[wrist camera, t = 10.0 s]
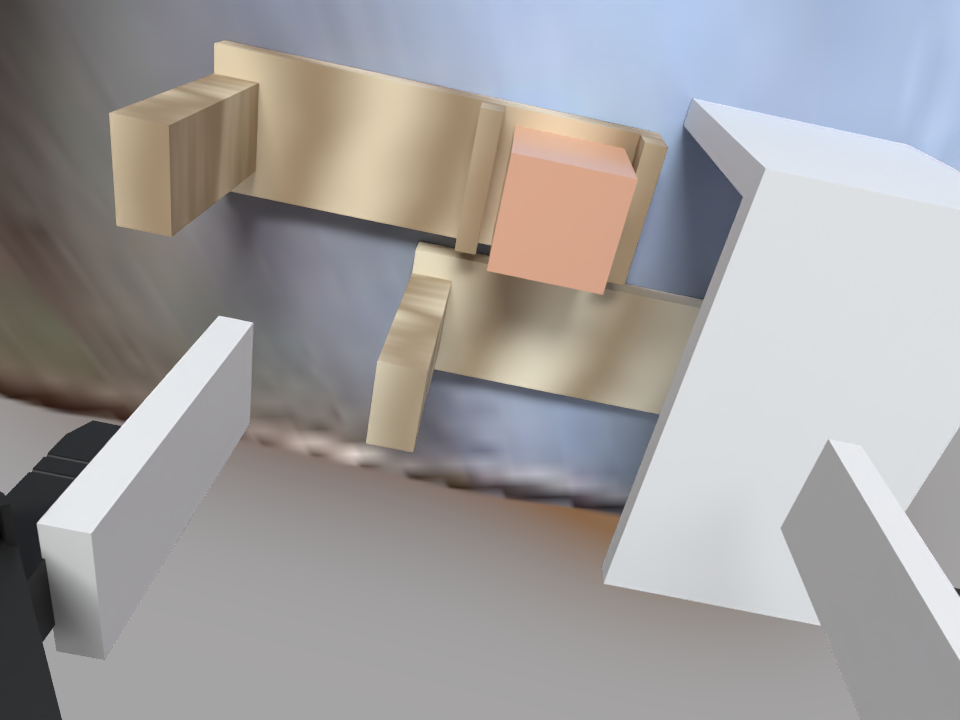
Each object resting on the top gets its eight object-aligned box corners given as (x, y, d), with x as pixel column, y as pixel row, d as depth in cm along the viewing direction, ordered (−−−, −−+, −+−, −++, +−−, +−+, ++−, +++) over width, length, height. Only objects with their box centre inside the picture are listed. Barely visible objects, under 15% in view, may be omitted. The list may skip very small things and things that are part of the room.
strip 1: (223, 181, 36) (118, 257, 27) (224, 40, 32) (106, 73, 24) (618, 263, 36) (644, 363, 27) (658, 132, 33) (702, 199, 24)
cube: (493, 230, 35) (486, 270, 30) (515, 125, 32) (511, 152, 28) (594, 251, 35) (602, 294, 30) (624, 148, 32) (638, 179, 28)
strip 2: (402, 351, 40) (363, 466, 31) (419, 241, 36) (381, 334, 28) (755, 422, 40) (815, 554, 31) (802, 320, 37) (885, 436, 28)
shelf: (587, 423, 41) (603, 583, 31) (692, 98, 32) (765, 168, 22) (757, 457, 41) (830, 627, 31) (908, 144, 33) (1082, 235, 22)
